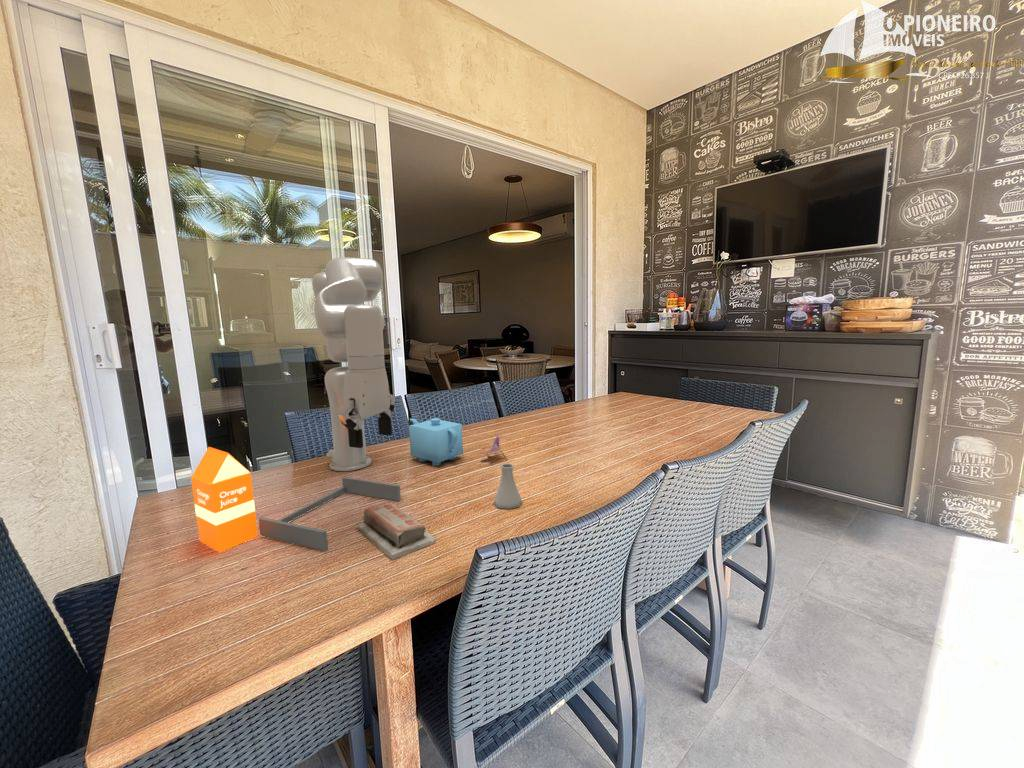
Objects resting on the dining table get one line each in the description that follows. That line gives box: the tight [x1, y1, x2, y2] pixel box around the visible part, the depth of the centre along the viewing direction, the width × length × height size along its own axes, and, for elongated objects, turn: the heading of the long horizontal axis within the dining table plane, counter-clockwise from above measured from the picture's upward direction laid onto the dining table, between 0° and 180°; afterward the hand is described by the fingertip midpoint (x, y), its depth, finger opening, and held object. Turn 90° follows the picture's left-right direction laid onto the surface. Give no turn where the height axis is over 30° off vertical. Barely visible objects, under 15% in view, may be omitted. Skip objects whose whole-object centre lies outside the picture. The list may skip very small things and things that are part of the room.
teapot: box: [408, 417, 464, 467], centre depth 140 cm, size 22×11×14 cm, turn 53°
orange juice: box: [190, 446, 259, 553], centre depth 89 cm, size 8×9×20 cm
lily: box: [480, 431, 508, 461], centre depth 139 cm, size 12×12×10 cm
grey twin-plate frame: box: [258, 476, 402, 552], centre depth 100 cm, size 18×26×4 cm
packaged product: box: [356, 502, 437, 561], centre depth 92 cm, size 18×5×10 cm
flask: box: [493, 462, 523, 510], centre depth 106 cm, size 7×7×10 cm
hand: (371, 440), depth 94 cm, fingers open, 9 cm apart
